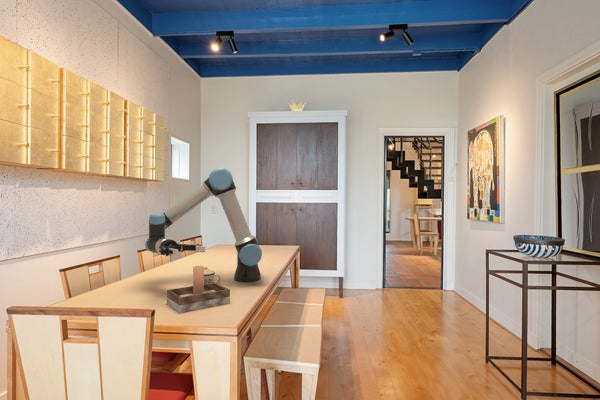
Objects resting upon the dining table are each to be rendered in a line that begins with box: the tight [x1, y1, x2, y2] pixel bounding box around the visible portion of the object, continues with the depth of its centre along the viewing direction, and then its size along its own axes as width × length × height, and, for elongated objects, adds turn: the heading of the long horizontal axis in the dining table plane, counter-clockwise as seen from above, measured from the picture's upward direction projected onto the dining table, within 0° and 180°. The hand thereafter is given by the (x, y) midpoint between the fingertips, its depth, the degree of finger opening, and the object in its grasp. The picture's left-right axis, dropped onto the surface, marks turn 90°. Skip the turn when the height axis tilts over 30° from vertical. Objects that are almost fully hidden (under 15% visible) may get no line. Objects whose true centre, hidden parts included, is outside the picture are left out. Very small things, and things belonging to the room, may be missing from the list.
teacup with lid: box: [204, 266, 222, 285], centre depth 175 cm, size 12×9×12 cm
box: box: [166, 282, 231, 314], centre depth 152 cm, size 22×16×6 cm
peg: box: [192, 265, 205, 295], centre depth 152 cm, size 4×4×16 cm
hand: (191, 251), depth 156 cm, fingers open, 13 cm apart
